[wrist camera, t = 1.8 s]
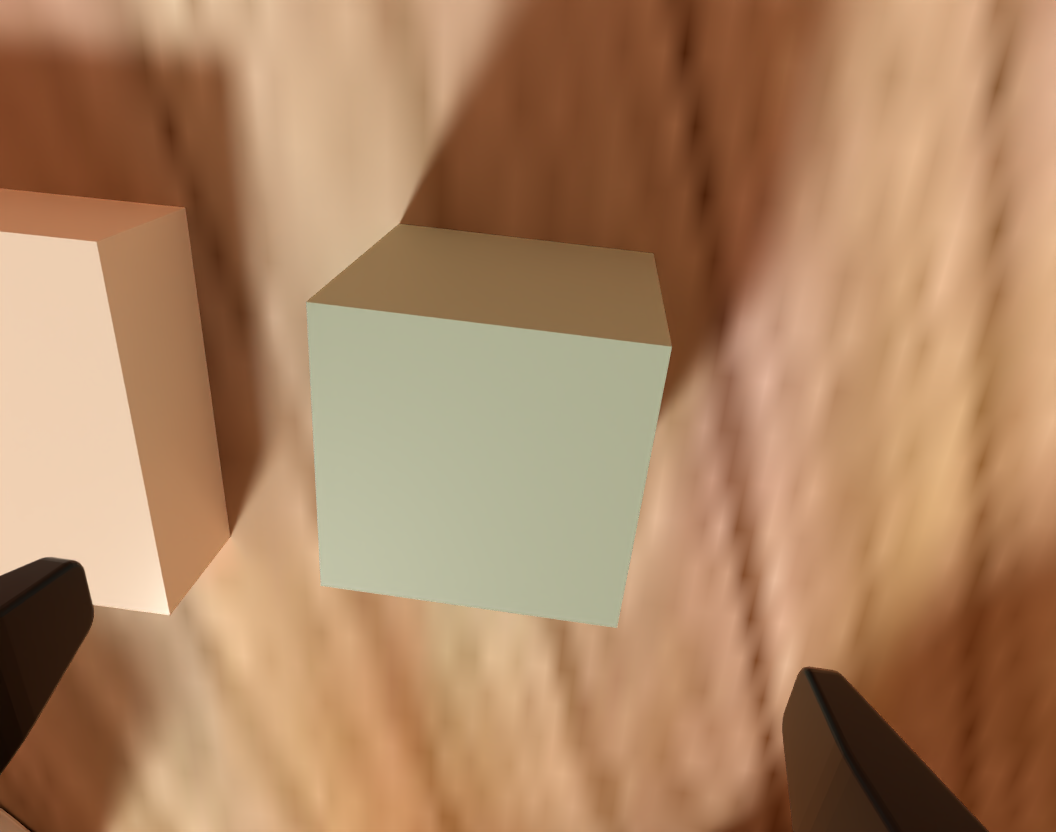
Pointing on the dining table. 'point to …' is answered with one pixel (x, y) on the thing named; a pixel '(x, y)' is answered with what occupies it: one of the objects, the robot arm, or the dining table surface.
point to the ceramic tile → (105, 398)
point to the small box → (10, 823)
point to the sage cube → (486, 420)
